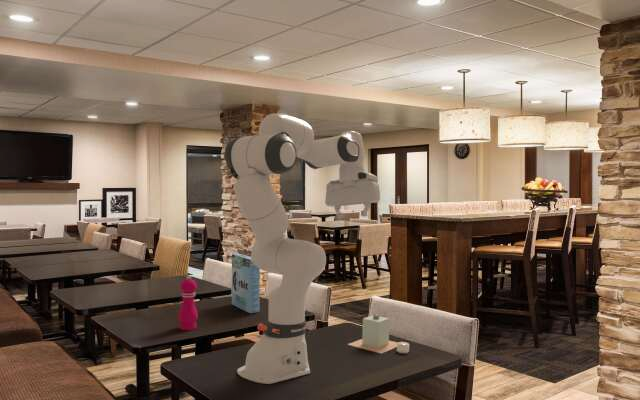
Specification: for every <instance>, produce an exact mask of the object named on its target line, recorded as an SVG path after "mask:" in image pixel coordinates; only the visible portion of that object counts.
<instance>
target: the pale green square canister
mask: <svg viewBox="0 0 640 400" xmlns="http://www.w3.org/2000/svg"><path fill="white" fill-rule="evenodd" d="M361 339H362V344H363V345H367V346H371V347H375V348H380V347H383V346H385V345H388V344H389V341H390V318H388V317H385V316H384V317H383V316H380V315H379V314H372V315H369V316H367V317H363V318H362V337H361Z"/></svg>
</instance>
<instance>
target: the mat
mask: <svg viewBox="0 0 640 400" xmlns="http://www.w3.org/2000/svg"><path fill="white" fill-rule="evenodd" d="M397 343H398V342H397V341H392V340H389V344H388V345H385V346H383V347H380V348H375V347H371V346H367V345H363V344H362V338H361V339H358V340H355V341H353V342H350V343H347V345H348V346H351V347H355V348H359V349H364V350H365V351H371V352H374V353H376V354H377V353H378V354H384V353H386V352H388V351H390V350H393V349H395V348H396V349H397Z"/></svg>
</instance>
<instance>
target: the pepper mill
mask: <svg viewBox="0 0 640 400" xmlns="http://www.w3.org/2000/svg"><path fill="white" fill-rule="evenodd" d="M179 288H180V290H181V291H182V292H181V297H182V304H181V307H180V310H179V311H178V316H177V318H178V321H180V322H179V330H182V331H193V330H195V329H197V327H198V326H197V322H196V321H197V320H198V318H199V315H198V313H199V312H198V310H197V308H196V305H195V297H196V292H195V291H196V290H197V288H198V286H197V282H196V281H195V280H194V279H192V275H190V274H187V275H186V279H184V280H183V281H181V283H180V287H179Z"/></svg>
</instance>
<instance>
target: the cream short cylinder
mask: <svg viewBox="0 0 640 400" xmlns="http://www.w3.org/2000/svg"><path fill="white" fill-rule="evenodd" d="M396 352H397V353H399V354H408V353H409V352H410V343H409V342H405V341H399V342H397V347H396Z"/></svg>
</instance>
